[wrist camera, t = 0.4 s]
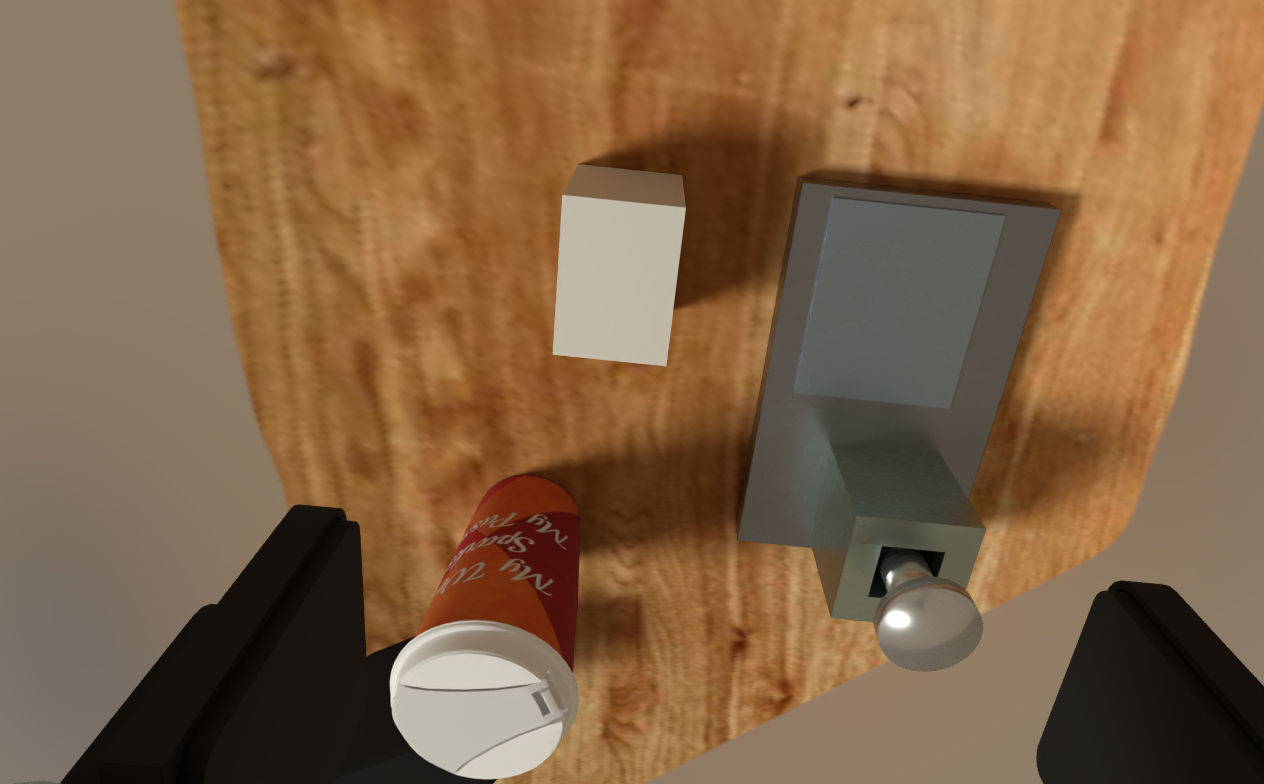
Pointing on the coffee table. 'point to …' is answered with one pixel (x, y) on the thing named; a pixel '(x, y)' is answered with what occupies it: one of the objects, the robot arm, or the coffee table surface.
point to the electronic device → (388, 738)
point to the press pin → (923, 614)
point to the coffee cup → (497, 639)
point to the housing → (618, 264)
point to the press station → (887, 377)
